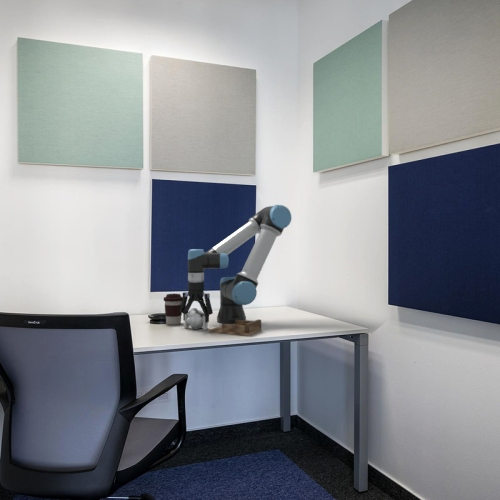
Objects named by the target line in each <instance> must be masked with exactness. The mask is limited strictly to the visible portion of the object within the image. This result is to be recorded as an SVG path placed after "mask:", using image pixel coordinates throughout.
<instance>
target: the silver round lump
mask: <svg viewBox="0 0 500 500" xmlns="http://www.w3.org/2000/svg"><path fill="white" fill-rule="evenodd" d="M187 314H188V318H187V319H186V322H187V323H188V324H189V328H191V329H194V330H200V329H201V328H202V329H203V316H204V312H203V311H201V310H198V309H197V308H195V307H193V308H190V309H189V311H188V313H187Z"/></svg>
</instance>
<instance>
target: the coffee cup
mask: <svg viewBox="0 0 500 500" xmlns="http://www.w3.org/2000/svg"><path fill="white" fill-rule="evenodd" d="M181 295H182V294H180V293H168V294H166V295H165V296H164V297H163V301H164V315H165V322H166V324H167V325H169V326H170V325H171V326H176V325H177V326H178V325H180V324H181V323H182V316H183V313H181V312H180V308H181V303H182V299H183V296H181Z"/></svg>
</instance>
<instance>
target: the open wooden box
mask: <svg viewBox="0 0 500 500" xmlns="http://www.w3.org/2000/svg"><path fill="white" fill-rule="evenodd" d="M260 332H262V319H256V320H246V321H245V320H235V323H234V324H229V323H221V325H219V326H217V327H214V328H210V329H208V333H211V334H219V335H220V334H222V335H230V336H231V335H233V336H234V335H235V336H243V337H244V336H245V337H249V336H252V335H254V334H256V333H260Z"/></svg>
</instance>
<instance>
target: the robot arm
mask: <svg viewBox="0 0 500 500" xmlns="http://www.w3.org/2000/svg"><path fill="white" fill-rule="evenodd" d="M291 213H292V212H291V211H290V209H289V208H288V207H287V206H285V205H283V204H275V205H271V206H270V205H269V206H265V207H263V208H262V209H261V210H259V211H258V212H256V213H255V214H254V215H253V216H251V217H250V218H249V219H248V222H246V223H245V224H244V225H241V227H239V228H238V229H237V230H235V231H234V232H233V233H231V234H230V235H228V236H227V237H225V238H224V239H222V240H221V241H220V242H218V243H217V244H216V245H214V246H213V247H212V248H210V249H208V250H207V251H206V252H205V251H204V249H202V248H201V249H200V248H199V249H198V248H197V249H196V248H192V249H188V251H187V252H188V253H187V281H188V283H187V290H188V292H187V291H186V292H185V291H184V292H182V297H183V299H182V303H181V308H180V312H181V313H182V316H183V321H184V328H185V329H187V328H190V325H189V324H188V323H187V322H186V319H187V318H188V312H189V311H190V310H191V306H192V304H193V303H194V302H197V303H199V306H200V308H201V310H202V312H203V313H204V316H203V327H202V330H204V331H206V330H209V329H208V327H209V326H208V325H209V324H208V323H209V322H210V315H212V314H214V313H213V307H212V303H211V300H210V298H211V297H210V293H205V291H204V289H205V282H204V281H205V270H209V269H210V270H211V269H213V270H215V269H216V270H219V269H220V270H221V269H227V268H228V266H229V255H230V254H231V253H232V252H233V251H235V250H237V249H238V248H239V247H240V246H242V245H243V244H244V243H246V242H247V241H248V240H250V239H251V238H253V237H254V236H255V235H257V234H258V236H257V238H256V240H255V242H254V245H253V247H252V248H251V251H250V253H249V255H248V257H247V259H246V261H245V263H244V266H243V268H242V270H241V271H240V272H238V273H236V275H235V276H229V277H228V276H225V277H221V279H220V280H219V281H220V282H219V297H220V298H219V301H220V302H219V303H220V305H219V306H220V307H219V309H218V313H217V316H216V322H217V323H220V324H231V325H234V324H235V320H245V321H247V316H246V313H245V310H244V306H247V305H250V304H251V303H253V302H254V301H255V300H256V297H257V292H258V291H257V287H258V285H259V282H258V278H259V276H260V273H261V271H262V269H263V267H264V265H265V263H266V261H267V258H268V256H269V254H270V252H271V250H272V248H273V246H274V244H275V241H276V239H277V237H280V236H282V234H283V232H284V229H286V228H287V227H289V225H290V224H291V222H292V214H291Z"/></svg>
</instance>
